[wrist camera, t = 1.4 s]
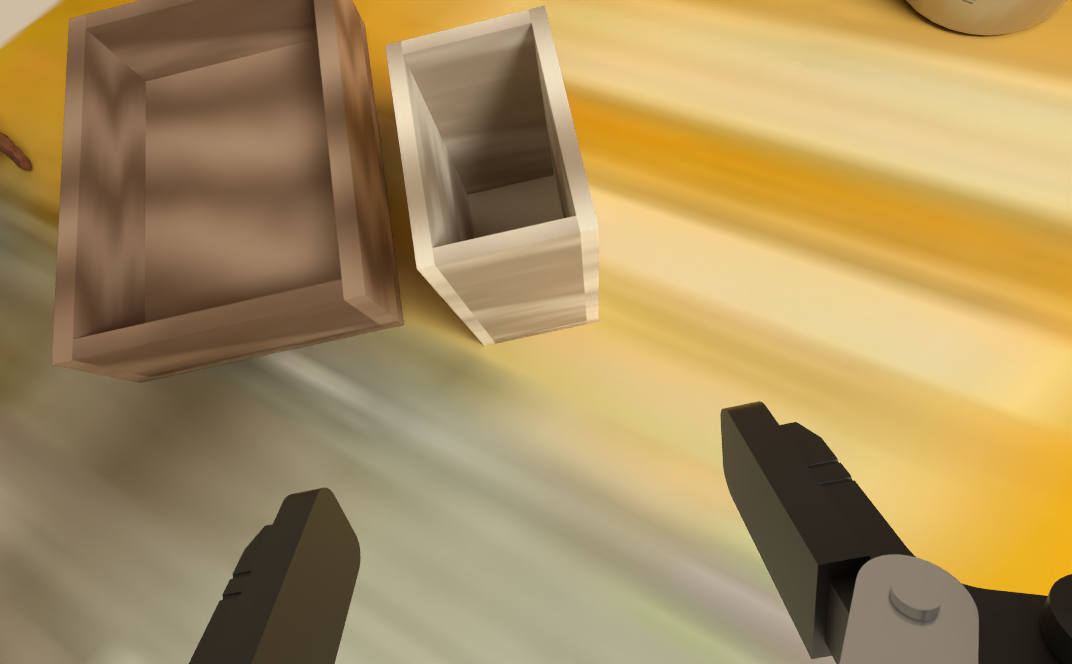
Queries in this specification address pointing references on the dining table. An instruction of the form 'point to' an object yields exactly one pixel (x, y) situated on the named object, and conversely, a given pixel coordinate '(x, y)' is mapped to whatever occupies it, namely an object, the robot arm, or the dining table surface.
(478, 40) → the birch crate
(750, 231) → the dining table surface
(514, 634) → the dining table surface
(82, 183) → the walnut crate
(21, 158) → the pottery mug
